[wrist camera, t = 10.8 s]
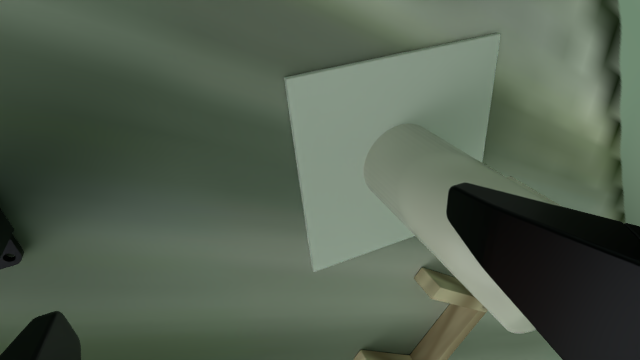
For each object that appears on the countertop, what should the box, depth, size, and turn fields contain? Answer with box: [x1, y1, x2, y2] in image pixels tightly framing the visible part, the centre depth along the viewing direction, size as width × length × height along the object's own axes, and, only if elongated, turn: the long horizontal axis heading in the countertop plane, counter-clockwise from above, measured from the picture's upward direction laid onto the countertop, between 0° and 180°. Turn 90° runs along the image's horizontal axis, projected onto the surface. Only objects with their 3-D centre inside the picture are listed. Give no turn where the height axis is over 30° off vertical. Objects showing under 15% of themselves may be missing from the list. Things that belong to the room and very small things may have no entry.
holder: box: [354, 267, 488, 360], centre depth 35 cm, size 8×11×2 cm
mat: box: [284, 33, 501, 272], centre depth 26 cm, size 14×14×1 cm
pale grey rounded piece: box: [364, 124, 562, 333], centre depth 21 cm, size 8×5×12 cm
